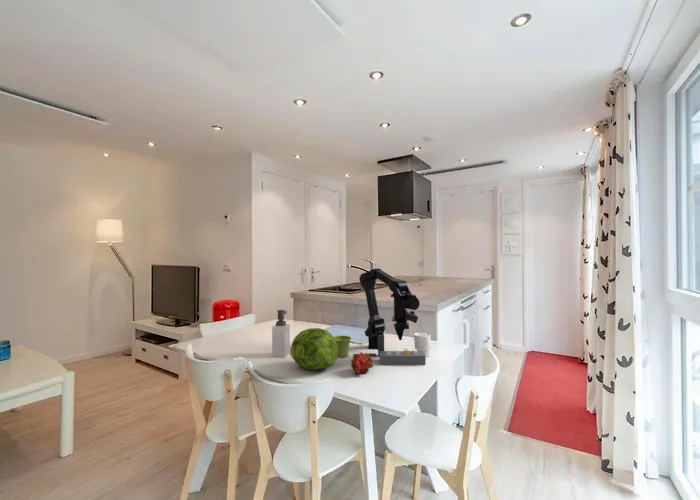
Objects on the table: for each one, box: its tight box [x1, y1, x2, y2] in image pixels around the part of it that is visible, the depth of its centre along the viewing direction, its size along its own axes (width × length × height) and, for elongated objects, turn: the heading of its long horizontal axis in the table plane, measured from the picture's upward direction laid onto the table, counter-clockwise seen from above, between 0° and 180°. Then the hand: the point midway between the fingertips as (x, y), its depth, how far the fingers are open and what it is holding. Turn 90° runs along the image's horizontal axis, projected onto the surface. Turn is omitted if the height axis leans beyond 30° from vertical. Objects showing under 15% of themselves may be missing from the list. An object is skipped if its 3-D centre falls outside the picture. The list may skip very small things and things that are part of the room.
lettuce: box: [289, 327, 339, 371], centre depth 145 cm, size 18×23×19 cm
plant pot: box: [333, 334, 352, 358], centre depth 161 cm, size 9×9×9 cm
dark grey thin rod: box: [352, 352, 377, 358], centre depth 159 cm, size 11×1×1 cm, turn 95°
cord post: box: [377, 334, 385, 358], centre depth 160 cm, size 3×3×10 cm
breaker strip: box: [379, 348, 426, 366], centre depth 151 cm, size 20×7×6 cm, turn 87°
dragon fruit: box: [350, 352, 374, 375], centre depth 139 cm, size 8×8×12 cm
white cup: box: [413, 332, 432, 358], centre depth 160 cm, size 8×8×10 cm
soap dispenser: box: [271, 309, 291, 358], centre depth 165 cm, size 6×9×22 cm
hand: (400, 340), depth 158 cm, fingers closed
